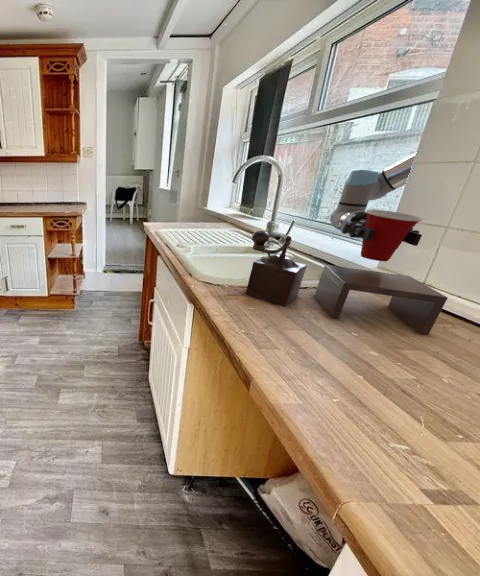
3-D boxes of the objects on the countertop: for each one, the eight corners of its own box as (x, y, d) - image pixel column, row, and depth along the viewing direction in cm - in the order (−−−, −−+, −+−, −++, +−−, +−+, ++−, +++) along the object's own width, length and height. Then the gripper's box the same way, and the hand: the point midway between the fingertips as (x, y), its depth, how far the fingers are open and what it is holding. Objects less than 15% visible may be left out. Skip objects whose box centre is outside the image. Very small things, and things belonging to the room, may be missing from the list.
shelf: (394, 308, 79) (409, 275, 76) (428, 335, 66) (448, 297, 63) (314, 295, 85) (324, 264, 82) (330, 318, 72) (344, 282, 69)
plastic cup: (381, 265, 75) (402, 215, 70) (339, 253, 85) (355, 208, 80) (413, 264, 77) (435, 216, 73) (369, 252, 87) (386, 209, 83)
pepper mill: (255, 285, 90) (272, 224, 84) (297, 297, 83) (319, 231, 76) (233, 298, 80) (249, 230, 74) (279, 313, 73) (301, 239, 66)
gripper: (396, 240, 92) (442, 258, 72) (313, 231, 99) (336, 246, 79) (406, 215, 89) (458, 227, 70) (321, 208, 96) (346, 217, 77)
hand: (393, 237), depth 75 cm, fingers closed on plastic cup, 9 cm apart
